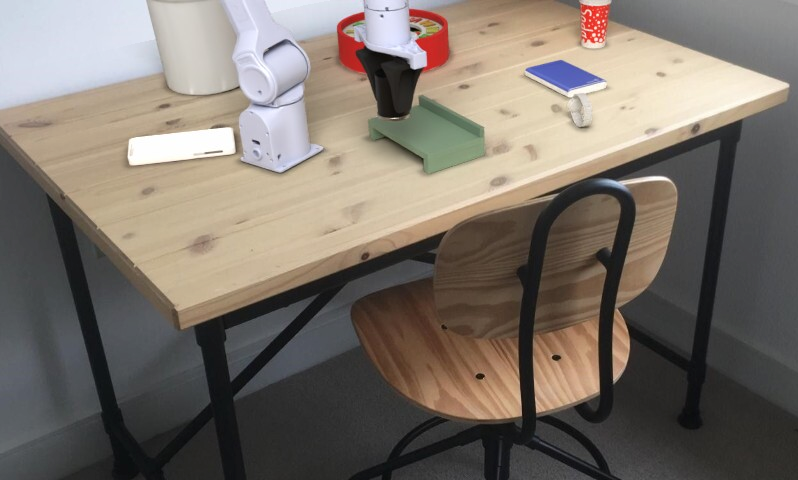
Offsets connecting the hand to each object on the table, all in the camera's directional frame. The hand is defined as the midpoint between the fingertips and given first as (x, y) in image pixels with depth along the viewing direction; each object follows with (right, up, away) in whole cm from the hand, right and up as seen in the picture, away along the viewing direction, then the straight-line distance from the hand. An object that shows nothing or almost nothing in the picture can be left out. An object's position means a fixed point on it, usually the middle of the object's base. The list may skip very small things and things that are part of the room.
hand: (393, 105), depth 130 cm
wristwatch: (+27, +1, +20) cm, 34 cm away
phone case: (-33, -4, +13) cm, 35 cm away
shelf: (+3, -3, +14) cm, 14 cm away
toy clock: (-5, +19, +46) cm, 50 cm away
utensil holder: (-37, +12, +36) cm, 53 cm away
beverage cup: (+32, +22, +52) cm, 65 cm away
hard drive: (+25, +11, +36) cm, 45 cm away
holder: (0, -1, +1) cm, 1 cm away
